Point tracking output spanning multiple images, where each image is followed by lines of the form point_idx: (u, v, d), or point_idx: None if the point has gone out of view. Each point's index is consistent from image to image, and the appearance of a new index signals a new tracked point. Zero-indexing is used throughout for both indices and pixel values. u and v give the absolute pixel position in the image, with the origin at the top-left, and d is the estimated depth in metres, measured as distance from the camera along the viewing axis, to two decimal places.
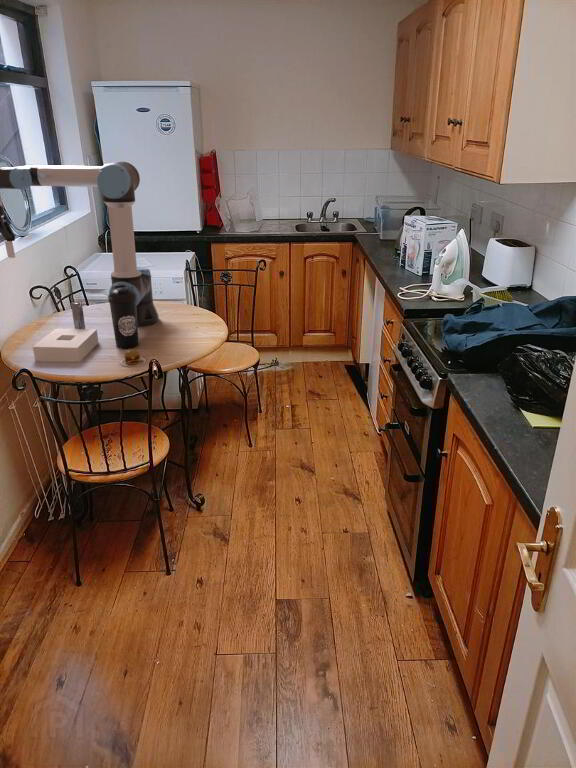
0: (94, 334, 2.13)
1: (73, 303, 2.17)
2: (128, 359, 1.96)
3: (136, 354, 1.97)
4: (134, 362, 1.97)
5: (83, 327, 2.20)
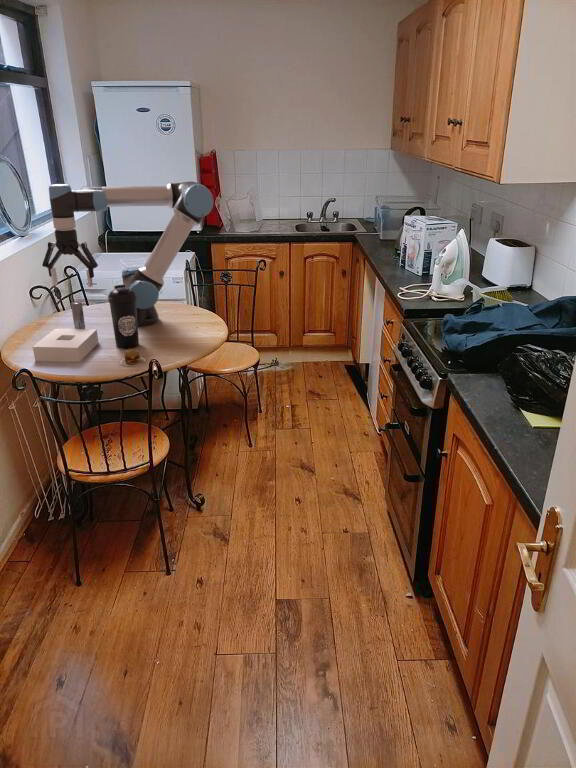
0: (94, 334, 2.13)
1: (73, 303, 2.17)
2: (128, 359, 1.97)
3: (136, 354, 1.97)
4: (134, 362, 1.97)
5: (83, 327, 2.20)
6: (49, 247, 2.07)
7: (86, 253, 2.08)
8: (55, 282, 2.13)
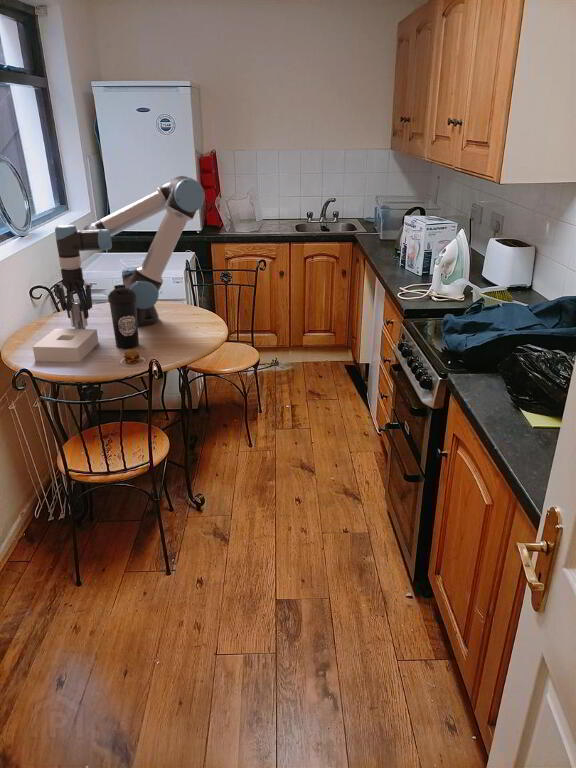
0: (94, 334, 2.13)
1: (73, 303, 2.17)
2: (128, 358, 1.97)
3: (136, 353, 1.97)
4: (134, 361, 1.97)
5: (83, 327, 2.20)
6: (58, 289, 2.14)
7: (87, 294, 2.14)
8: (73, 323, 2.20)
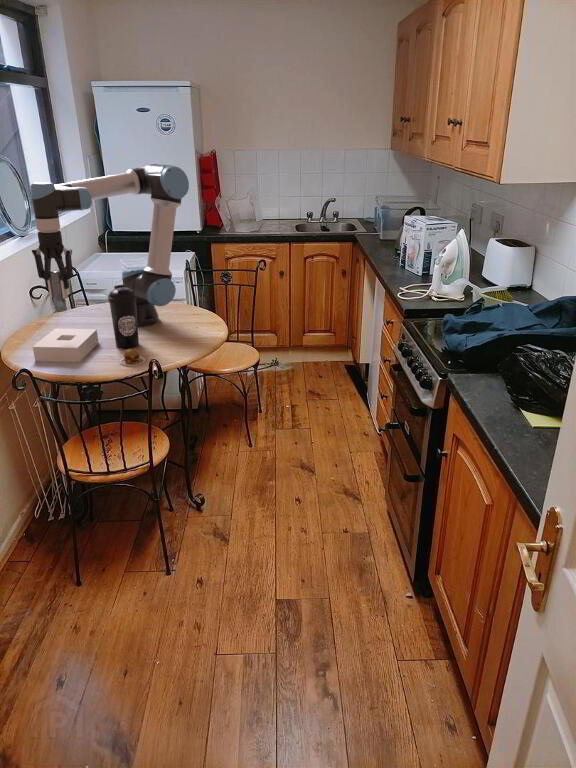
0: (94, 334, 2.13)
1: (52, 272, 1.96)
2: (128, 358, 1.97)
3: (136, 353, 1.98)
4: (134, 361, 1.98)
5: (63, 299, 1.99)
6: (35, 255, 1.93)
7: (67, 261, 1.93)
8: (52, 294, 1.99)
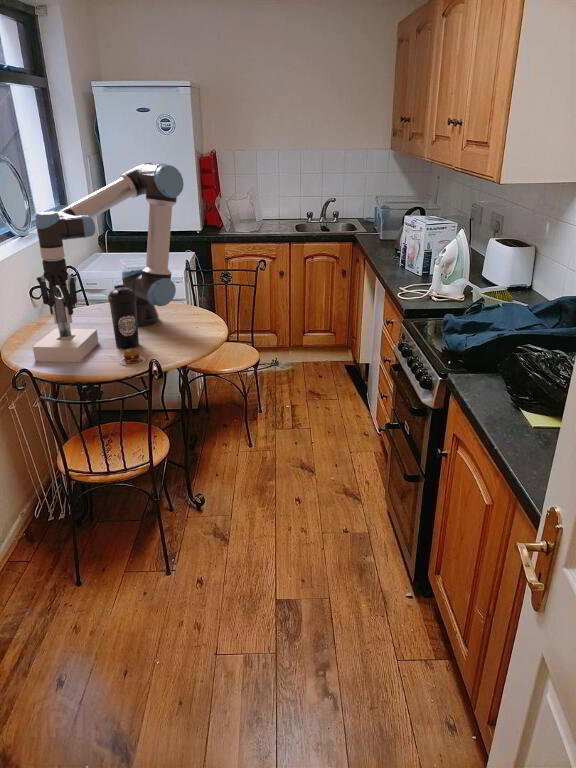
0: (94, 334, 2.13)
1: (56, 298, 1.99)
2: (128, 358, 1.97)
3: (136, 353, 1.98)
4: (134, 361, 1.98)
5: (67, 324, 2.03)
6: (40, 282, 1.96)
7: (71, 288, 1.97)
8: None
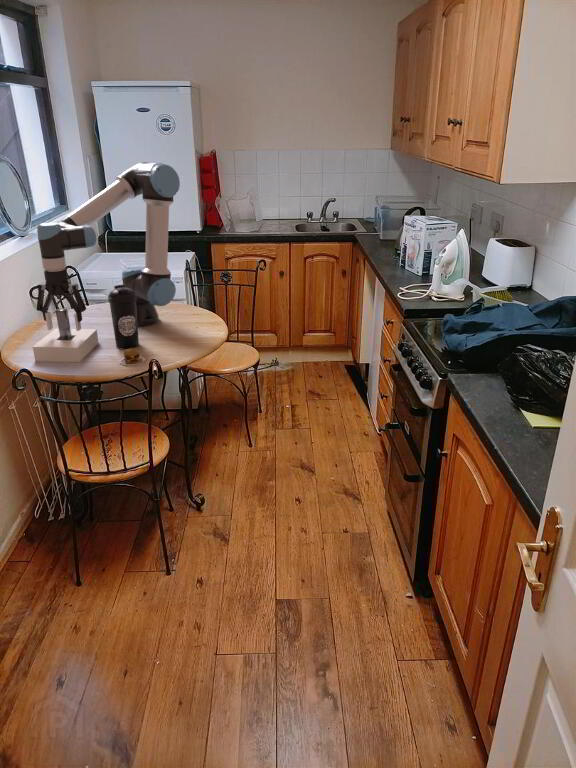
0: (94, 334, 2.13)
1: (58, 310, 2.01)
2: (128, 358, 1.97)
3: (135, 353, 1.98)
4: (134, 361, 1.98)
5: (69, 336, 2.05)
6: (39, 290, 1.98)
7: (76, 296, 1.98)
8: (50, 326, 2.04)
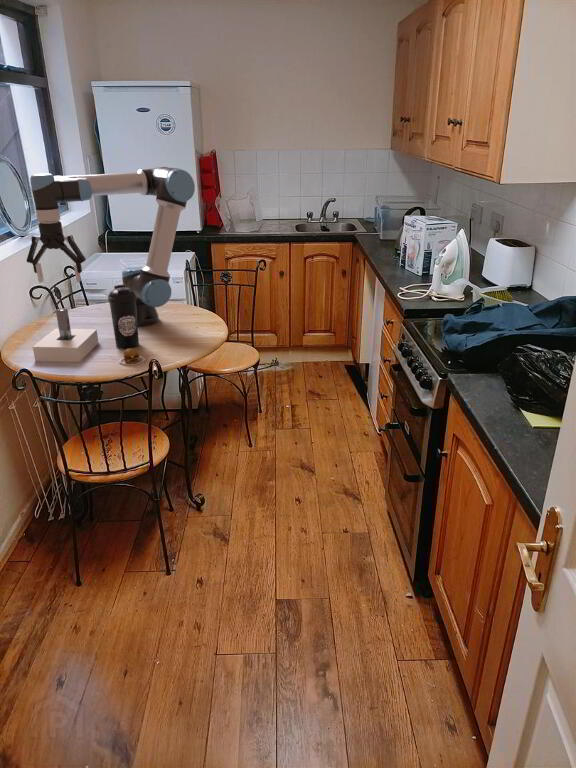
0: (94, 334, 2.13)
1: (58, 310, 2.01)
2: (127, 358, 1.97)
3: (135, 353, 1.98)
4: (133, 361, 1.98)
5: (69, 336, 2.05)
6: (33, 241, 1.95)
7: (73, 247, 1.96)
8: (41, 278, 2.02)
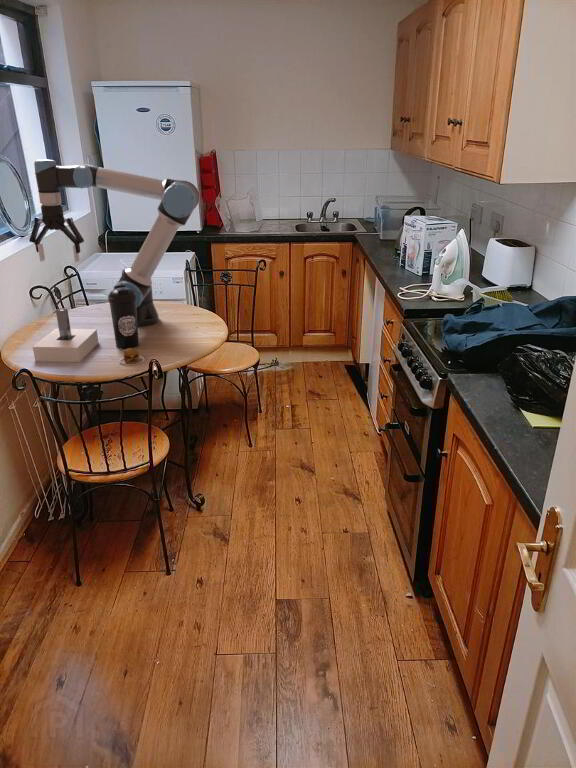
0: (94, 334, 2.13)
1: (58, 310, 2.01)
2: (127, 357, 1.98)
3: (135, 352, 1.98)
4: (133, 360, 1.98)
5: (69, 336, 2.05)
6: (36, 222, 2.11)
7: (72, 228, 2.11)
8: (42, 258, 2.17)
